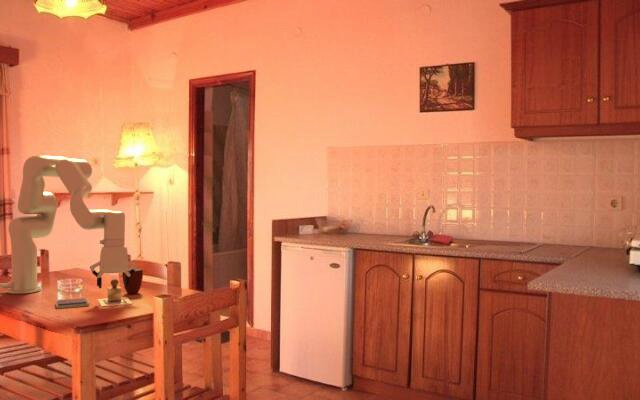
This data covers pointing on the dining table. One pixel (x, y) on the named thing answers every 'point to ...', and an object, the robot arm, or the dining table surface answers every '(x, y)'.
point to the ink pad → (71, 303)
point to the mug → (134, 281)
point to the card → (105, 302)
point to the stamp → (114, 292)
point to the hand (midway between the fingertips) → (113, 287)
